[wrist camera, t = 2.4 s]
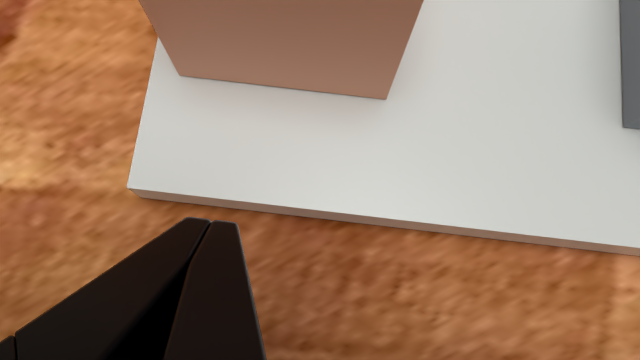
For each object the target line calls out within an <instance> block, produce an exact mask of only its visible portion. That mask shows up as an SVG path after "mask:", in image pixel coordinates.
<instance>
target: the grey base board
mask: <svg viewBox="0 0 640 360" xmlns="http://www.w3.org/2000/svg"><path fill="white" fill-rule="evenodd" d="M127 188H128V189H129V190H131V191H132V192H134V193H135V194H137V195H138V196H139V197H141V198H149V199H158V200H166V201H175V202H183V203H192V204H200V205H209V206H217V207H226V208H234V209H243V210H252V211H260V212H269V213H277V214H286V215H294V216H303V217H311V218H320V219H328V220H337V221H345V222H354V223H362V224H371V225H379V226H388V227H396V228H405V229H413V230H422V231H430V232H439V233H447V234H456V235H464V236H473V237H482V238H490V239H499V240H507V241H516V242H524V243H533V244H541V245H550V246H558V247H567V248H575V249H584V250H592V251H601V252H609V253H618V254H626V255H635V256H640V129H635V128H626V127H624V123H623V86H622V49H621V12H620V0H424V1H423V4H422V6H421V9H420V12H419V14H418V17H417V20H416V22H415V25H414V27H413V30H412V33H411V35H410V38H409V41H408V43H407V46H406V49H405V51H404V54H403V57H402V59H401V62H400V64H399V67H398V70H397V72H396V75H395V78H394V80H393V83H392V86H391V88H390V91H389V94H388V96H387V99H378V98H369V97H361V96H352V95H344V94H335V93H327V92H318V91H309V90H301V89H292V88H284V87H275V86H267V85H258V84H249V83H241V82H232V81H224V80H215V79H207V78H198V77H189V76H181V75H179V74H178V72H177V70H176V68H175V67H174V65H173V63H172V61H171V59H170V57H169V56H168V54H167V52H166V50H165V48H164V46H163V44H162V43H161V41H160V39H159V37H158V40H157V45H156V50H155V55H154V59H153V64H152V69H151V74H150V79H149V83H148V88H147V93H146V98H145V102H144V107H143V112H142V117H141V122H140V126H139V131H138V136H137V141H136V145H135V150H134V155H133V160H132V165H131V169H130V174H129V179H128V184H127Z"/></svg>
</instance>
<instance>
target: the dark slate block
mask: <svg viewBox="0 0 640 360" xmlns="http://www.w3.org/2000/svg"><path fill="white" fill-rule="evenodd" d="M620 12H621V49H622V86H623V123H624V127H626V128H635V129H640V0H620Z"/></svg>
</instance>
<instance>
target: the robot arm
mask: <svg viewBox="0 0 640 360" xmlns="http://www.w3.org/2000/svg"><path fill="white" fill-rule="evenodd" d="M0 360H267V358H266V353H265V349H264V344H263V339H262V335H261V330H260V325H259V321H258V316H257V311H256V307H255V302H254V298H253V293H252V288H251V284H250V279H249V274H248V270H247V265H246V260H245V256H244V251H243V247H242V242H241V237H240V233H239V228H238V225H237V223H235V222H230V221H221V220H214V221H213V222H211V220H209V219H204V218H196V217H186V218H184V219H183V220H181V221H180V222H178V223H177V224H175V225H174V226H172V227H171V228H169V229H168V230H166V231H165V232H163V233H162V234H160V235H159V236H157V237H156V238H154V239H153V240H152V241H150V242H149V243H147V244H146V245H144V246H143V247H141V248H140V249H138V250H137V251H135V252H134V253H132V254H131V255H129V256H128V257H126V258H125V259H123V260H122V261H120V262H119V263H117V264H116V265H114V266H113V267H111V268H110V269H108V270H107V271H105V272H104V273H102V274H101V275H99V276H98V277H97V278H95V279H94V280H92V281H91V282H89V283H88V284H86V285H85V286H83V287H82V288H80V289H79V290H77V291H76V292H74V293H73V294H71V295H70V296H68V297H67V298H65V299H64V300H62V301H61V302H59V303H58V304H56V305H55V306H53V307H52V308H50V309H49V310H47V311H46V312H44V313H43V314H41V315H40V316H39V317H37V318H36V319H34V320H33V321H31V322H30V323H28V324H27V325H25V326H24V327H22V328H21V329H19V330H18V331H16V333H15V337H14V336H13V335H10V336H8V337H7V338H5V339H4V340H2V341H1V342H0Z"/></svg>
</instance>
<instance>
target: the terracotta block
mask: <svg viewBox="0 0 640 360" xmlns="http://www.w3.org/2000/svg"><path fill="white" fill-rule="evenodd" d="M423 1H424V0H139V2H140V4H141V6H142V7H143V9H144V11H145V13H146V15H147V17H148V19H149V20H150V22H151V24H152V26H153V28H154V30H155V31H156V33H157V35H158V37H159V39H160V41H161V43H162V44H163V46H164V48H165V50H166V52H167V54H168V56H169V57H170V59H171V61H172V63H173V65H174V67H175V68H176V70H177V72H178V74H179V75H181V76H189V77H198V78H207V79H215V80H224V81H232V82H241V83H249V84H258V85H267V86H275V87H284V88H292V89H301V90H309V91H318V92H327V93H335V94H344V95H352V96H361V97H369V98H378V99H387V96H388V94H389V91H390V88H391V86H392V83H393V80H394V78H395V75H396V72H397V70H398V67H399V64H400V62H401V59H402V57H403V54H404V51H405V49H406V46H407V43H408V41H409V38H410V35H411V33H412V30H413V27H414V25H415V22H416V20H417V17H418V14H419V12H420V9H421V6H422V4H423Z"/></svg>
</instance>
